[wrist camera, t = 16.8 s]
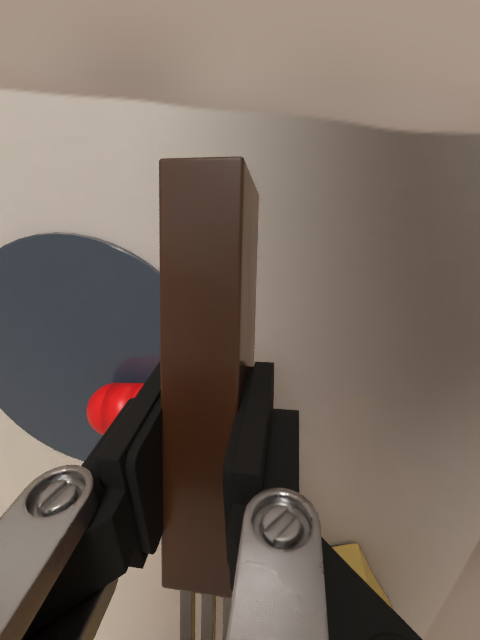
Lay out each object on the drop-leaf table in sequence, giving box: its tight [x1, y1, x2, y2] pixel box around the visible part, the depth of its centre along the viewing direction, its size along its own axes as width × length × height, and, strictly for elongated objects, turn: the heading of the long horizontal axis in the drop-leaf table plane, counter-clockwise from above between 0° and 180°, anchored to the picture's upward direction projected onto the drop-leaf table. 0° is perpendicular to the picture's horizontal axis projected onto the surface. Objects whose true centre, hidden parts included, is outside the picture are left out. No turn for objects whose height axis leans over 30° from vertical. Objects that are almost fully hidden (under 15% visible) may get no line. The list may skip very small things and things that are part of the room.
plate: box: [0, 232, 160, 461], centre depth 25 cm, size 19×19×1 cm
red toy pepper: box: [87, 383, 144, 435], centre depth 24 cm, size 4×6×4 cm, turn 94°
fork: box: [159, 157, 259, 640], centre depth 10 cm, size 3×16×3 cm, turn 1°
